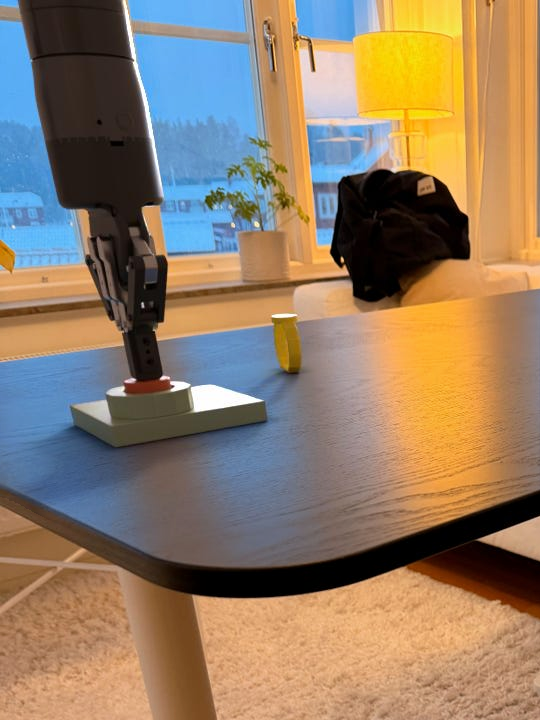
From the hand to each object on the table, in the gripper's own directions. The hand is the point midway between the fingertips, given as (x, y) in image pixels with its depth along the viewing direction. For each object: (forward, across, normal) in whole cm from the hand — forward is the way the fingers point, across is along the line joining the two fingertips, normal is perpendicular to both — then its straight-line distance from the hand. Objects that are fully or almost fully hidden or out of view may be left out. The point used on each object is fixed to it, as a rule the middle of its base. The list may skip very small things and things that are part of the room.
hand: (147, 378), depth 72 cm
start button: (+2, 0, 0) cm, 2 cm away
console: (+4, -3, +2) cm, 5 cm away
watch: (+4, -20, +22) cm, 30 cm away
